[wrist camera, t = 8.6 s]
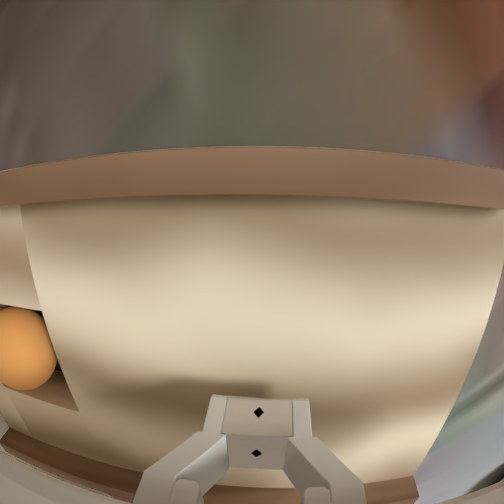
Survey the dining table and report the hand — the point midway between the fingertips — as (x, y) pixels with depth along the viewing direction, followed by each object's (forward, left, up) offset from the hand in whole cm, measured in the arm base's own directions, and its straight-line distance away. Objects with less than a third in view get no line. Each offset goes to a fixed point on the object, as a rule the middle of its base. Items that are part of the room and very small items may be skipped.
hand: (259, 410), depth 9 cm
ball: (0, -11, -2) cm, 11 cm away
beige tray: (0, -4, -4) cm, 5 cm away
